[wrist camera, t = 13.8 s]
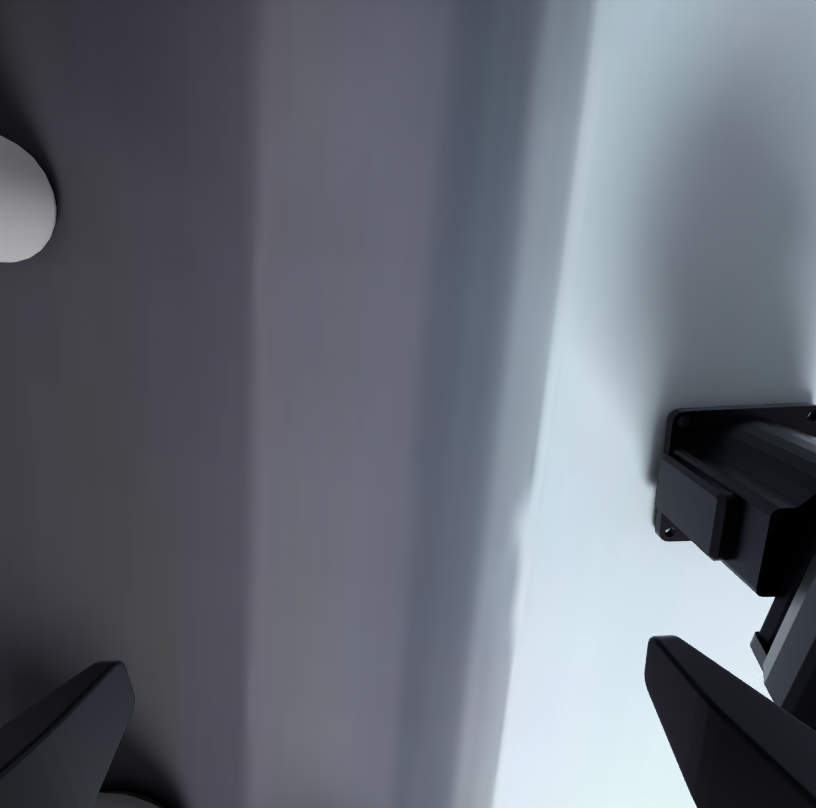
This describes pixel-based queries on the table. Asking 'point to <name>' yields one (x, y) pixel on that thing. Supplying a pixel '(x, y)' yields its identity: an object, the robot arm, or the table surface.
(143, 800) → the smart speaker
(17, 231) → the beverage can
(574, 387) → the table surface
